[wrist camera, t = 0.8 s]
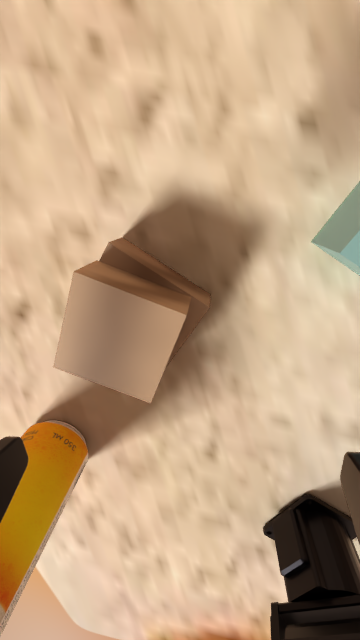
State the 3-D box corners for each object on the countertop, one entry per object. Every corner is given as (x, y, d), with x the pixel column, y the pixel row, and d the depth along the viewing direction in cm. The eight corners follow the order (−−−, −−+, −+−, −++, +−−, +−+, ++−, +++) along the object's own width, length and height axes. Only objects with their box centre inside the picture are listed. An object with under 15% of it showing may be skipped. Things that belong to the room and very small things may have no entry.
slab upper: (191, 297, 17) (186, 315, 14) (159, 375, 19) (150, 403, 17) (96, 260, 17) (73, 271, 14) (76, 343, 19) (53, 367, 16)
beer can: (34, 406, 25) (-185, 650, 11) (98, 430, 25) (-40, 698, 12) (25, 452, 28) (-165, 700, 14) (84, 473, 28) (-45, 739, 14)
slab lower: (210, 292, 20) (209, 307, 17) (160, 363, 23) (152, 385, 20) (123, 236, 19) (108, 242, 16) (82, 316, 22) (63, 333, 19)
